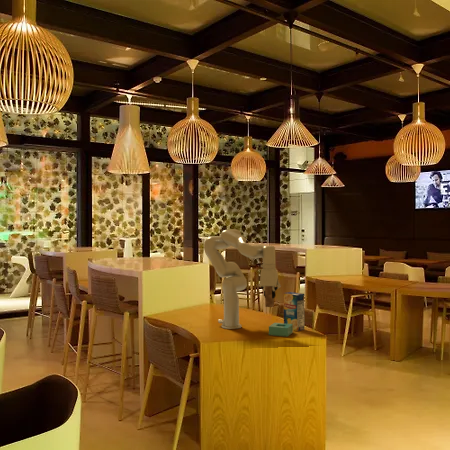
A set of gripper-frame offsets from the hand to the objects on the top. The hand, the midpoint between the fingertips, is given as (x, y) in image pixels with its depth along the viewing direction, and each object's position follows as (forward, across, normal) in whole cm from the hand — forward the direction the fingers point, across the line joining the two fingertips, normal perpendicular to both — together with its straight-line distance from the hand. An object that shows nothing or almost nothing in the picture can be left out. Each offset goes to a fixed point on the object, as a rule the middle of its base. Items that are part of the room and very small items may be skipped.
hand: (269, 297), depth 307 cm
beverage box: (+22, +9, +19) cm, 30 cm away
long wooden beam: (+5, 0, 0) cm, 5 cm away
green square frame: (+22, +5, +4) cm, 23 cm away
